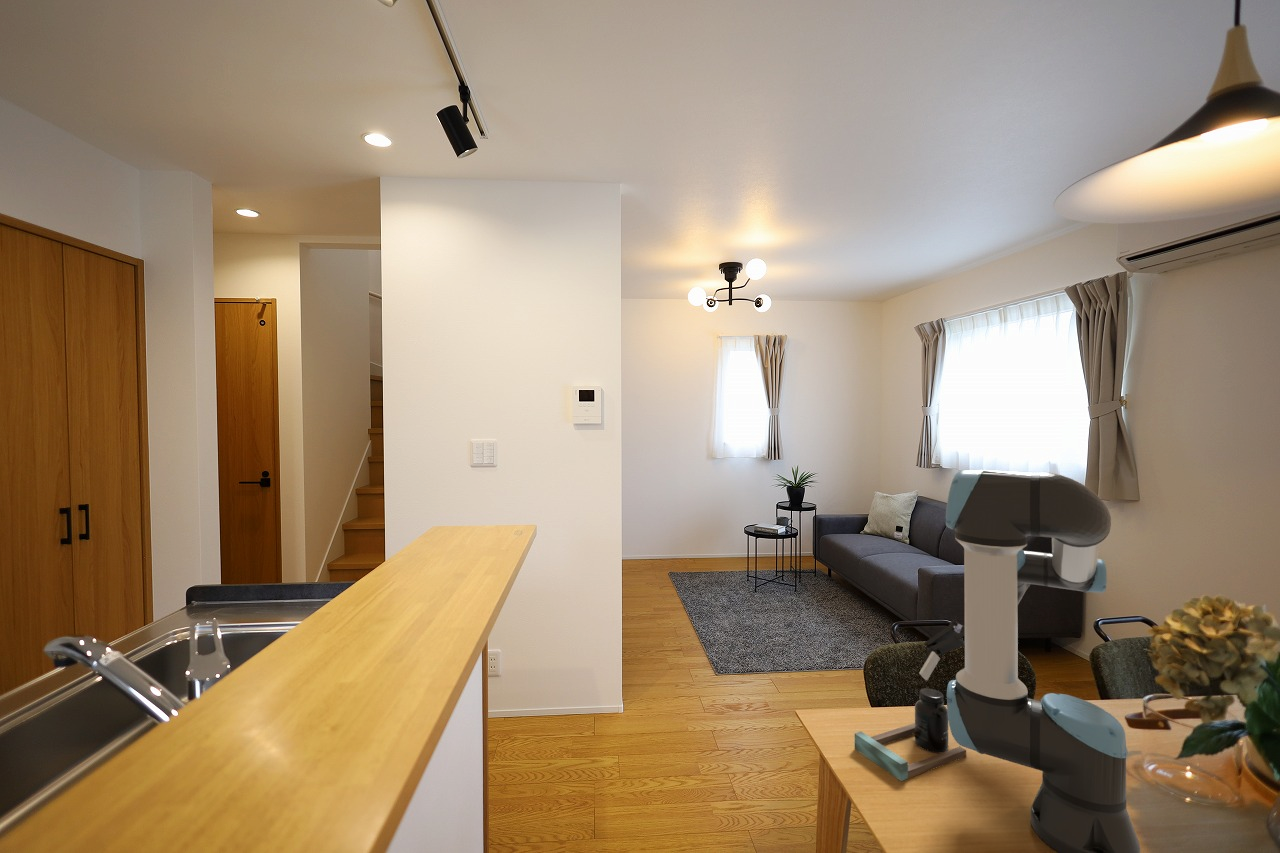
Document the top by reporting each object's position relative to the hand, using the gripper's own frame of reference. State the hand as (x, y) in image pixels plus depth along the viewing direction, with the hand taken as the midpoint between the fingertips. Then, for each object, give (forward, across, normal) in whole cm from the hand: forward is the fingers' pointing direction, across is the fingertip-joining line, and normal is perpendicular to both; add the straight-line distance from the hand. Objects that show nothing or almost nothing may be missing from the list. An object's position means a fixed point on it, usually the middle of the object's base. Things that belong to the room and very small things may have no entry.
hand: (948, 689), depth 130 cm
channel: (+17, -1, +1) cm, 17 cm away
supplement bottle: (+13, -1, -3) cm, 13 cm away
